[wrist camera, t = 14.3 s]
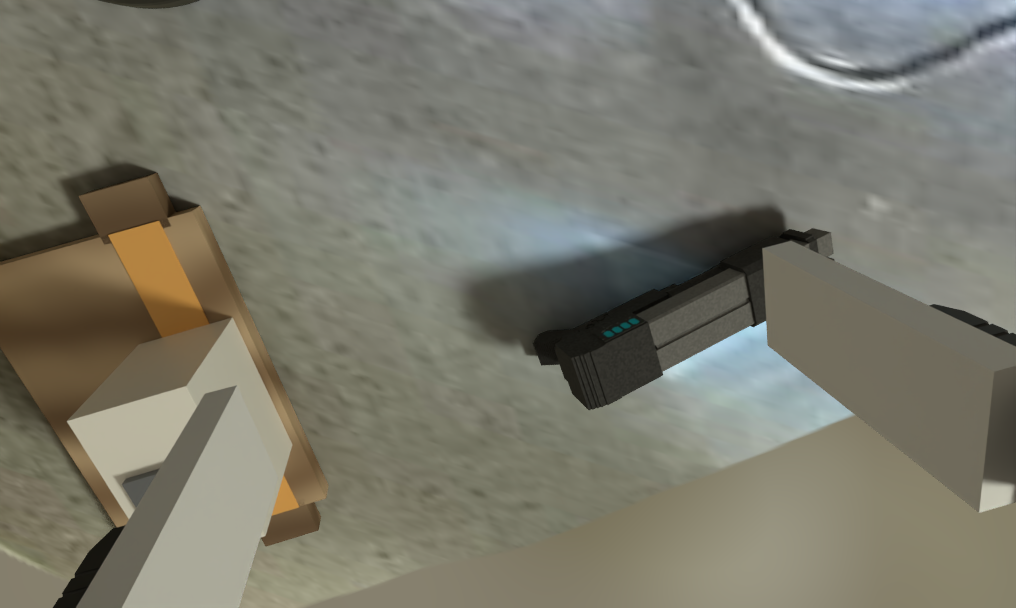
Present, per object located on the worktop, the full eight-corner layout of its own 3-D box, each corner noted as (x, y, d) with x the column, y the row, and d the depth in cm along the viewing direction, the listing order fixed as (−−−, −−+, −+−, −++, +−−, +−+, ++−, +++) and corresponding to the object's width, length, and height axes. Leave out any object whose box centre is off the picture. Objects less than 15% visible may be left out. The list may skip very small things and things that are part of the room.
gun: (517, 326, 44) (600, 371, 35) (720, 211, 50) (832, 224, 42) (536, 378, 46) (620, 433, 37) (730, 260, 52) (840, 283, 44)
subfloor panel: (-53, 231, 37) (-73, 238, 35) (181, 165, 37) (172, 169, 36) (159, 566, 47) (151, 582, 46) (340, 510, 48) (337, 525, 46)
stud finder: (138, 344, 39) (61, 426, 30) (232, 317, 39) (183, 391, 31) (207, 470, 43) (156, 575, 34) (292, 444, 43) (263, 542, 34)
